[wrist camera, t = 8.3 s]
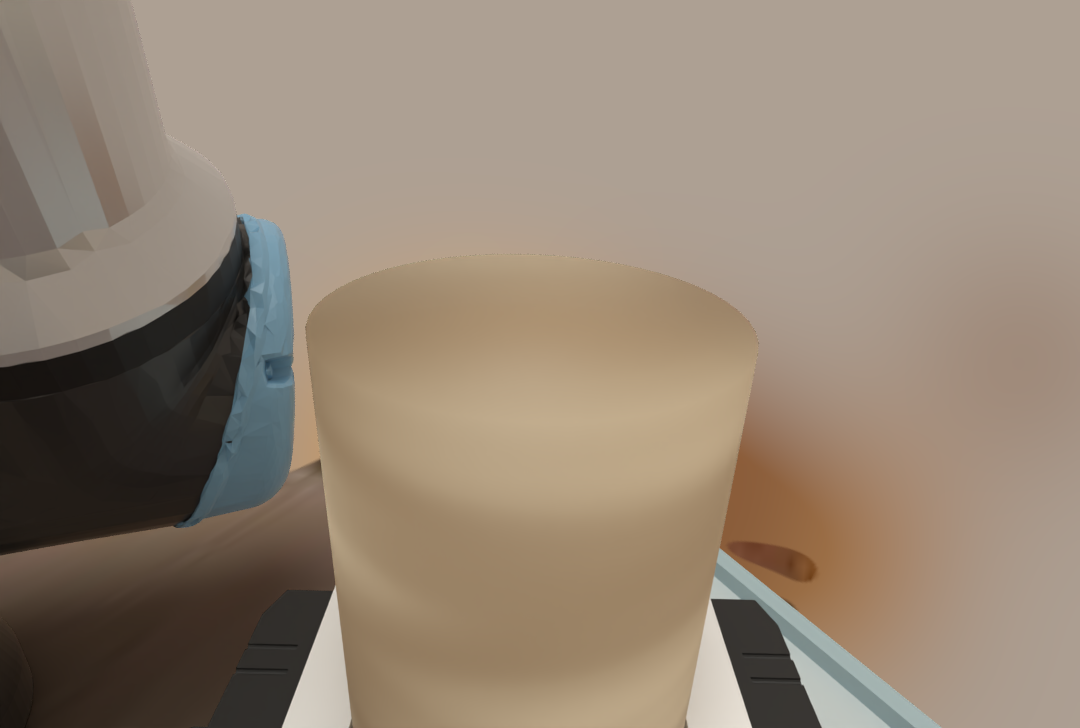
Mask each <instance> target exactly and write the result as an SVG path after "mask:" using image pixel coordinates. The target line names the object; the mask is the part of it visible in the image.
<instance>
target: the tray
mask: <svg viewBox="0 0 1080 728" xmlns="http://www.w3.org/2000/svg"><path fill="white" fill-rule="evenodd" d="M710 599H742V600H755V601H756V602H757V603H758V604H759V605H760V606H761V607H762V608H763V609H764V610H765V611H766V613H767V614H768V615H769V616H770V617H771V618H772V619H773V620H774V621H775V622H776V623H777V624H778V626H779V628H780V631H781V633H782V636H783V638H784V640H785V643H786V645H787V647H788V650H789V652H790V658H791V660H793V661H794V664H795V666H796V668H797V671H798V673H799V675H800V678H801V684H802V685H804V687H805V689H806V692H807V694H808V696H809V699H810V701H811V703H812V706H813V708H814V710H815V713H816V715H817V718H818V720H819V722H820V725H821V727H822V728H941V727H940V726H939V725H938V724H936V723H935V722H934V721H933V720H931V719H930V718H929V717H928V716H926V715H925V714H924V713H923V712H922V711H920V710H919V709H918V708H916V707H915V706H914V705H913V704H912V703H910V702H909V701H908V700H907V699H905V698H904V697H903V696H902V695H900V694H899V693H898V692H896V691H895V690H894V689H893V688H892V687H891V686H889V685H888V684H887V683H886V682H884V681H883V680H882V679H880V678H879V677H878V676H877V675H876V674H874V673H873V672H872V671H871V670H870V669H868V668H867V667H866V666H865V665H863V664H862V663H861V662H860V661H858V660H857V659H856V658H855V657H853V656H852V655H851V654H850V653H848V652H847V651H846V650H845V649H844V648H842V647H841V646H840V645H839V644H837V643H836V642H835V641H834V640H832V639H831V638H830V637H829V636H827V635H826V634H825V633H824V632H822V631H821V630H820V629H819V628H818V627H816V626H815V625H814V624H812V623H811V622H810V621H809V620H808V619H806V618H805V617H804V616H803V615H801V614H800V613H799V612H798V611H796V610H795V609H794V608H793V607H792V606H790V605H789V604H788V603H787V602H785V601H784V600H783V599H782V598H780V597H779V596H778V595H777V594H775V593H774V592H773V591H772V590H770V589H769V588H768V587H767V586H766V585H764V584H763V583H762V582H761V581H759V580H758V579H757V578H755V577H754V576H753V575H752V574H751V573H749V572H748V571H747V570H746V569H744V568H743V567H742V566H741V565H740V564H738V563H737V562H736V561H735V560H733V559H732V558H731V557H730V556H728V555H727V554H726V553H725V552H723V551H722V550H721V549H720V548H719V553H718V558H717V563H716V568H715V573H714V578H713V583H712V588H711V593H710Z"/></svg>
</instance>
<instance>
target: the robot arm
mask: <svg viewBox="0 0 1080 728" xmlns="http://www.w3.org/2000/svg"><path fill="white" fill-rule="evenodd" d="M293 337H294V329H293V309H292V293H291V282H290V271H289V263H288V256H287V250H286V244H285V240H284V237H283V234H282V232H281V230H280V228H279V227H278V226H277V225H276V224H275V223H273V222H270V221H268V220H264V219H256V218H254V217H252V216H250V215H247V214H241V215H237V214H236V209H235V204H234V200H233V196H232V194H231V192H230V190H229V187H228V185H227V183H226V181H225V179H224V178H223V176H222V174H221V173H220V172H219V170H218V169H217V168H215V166H214V165H213V164H212V163H211V162H210V161H209V160H208V159H206V158H205V157H204V156H202V155H201V154H200V153H199V152H197V151H196V150H194V149H193V148H191V147H189V146H188V145H186V144H184V143H182V142H181V141H179V140H177V139H175V138H173V137H171V136H170V135H167V134H166V133H165V131H164V127H163V123H162V119H161V115H160V111H159V108H158V104H157V100H156V96H155V92H154V88H153V84H152V80H151V77H150V73H149V69H148V64H147V61H146V57H145V53H144V49H143V45H142V41H141V37H140V33H139V29H138V25H137V21H136V17H135V13H134V9H133V6H132V2H131V0H0V555H5V554H11V553H16V552H22V551H27V550H33V549H39V548H44V547H50V546H55V545H61V544H67V543H72V542H78V541H84V540H90V539H96V538H102V537H108V536H114V535H120V534H126V533H132V532H139V531H145V530H151V529H157V528H163V527H169V526H174V527H176V528H184V527H190V526H194V525H195V524H197V523H199V522H200V521H201V520H202V519H204V518H209V517H213V516H217V515H222V514H226V513H231V512H235V511H239V510H244V509H248V508H252V507H256V506H259V505H261V504H263V503H265V502H266V501H268V500H269V499H271V498H272V497H273V496H274V495H275V494H276V493H277V492H278V491H279V490H280V489H281V487H282V486H283V484H284V482H285V481H286V479H287V476H288V473H289V469H290V465H291V460H292V452H293V440H294V418H295V417H294V416H295V388H294V387H295V383H294V375H293V370H292V368H291V366H292V363H293V339H294V338H293ZM32 699H33V678H32V674H31V670H30V667H29V665H28V663H27V660H26V658H25V655H24V653H23V650H22V648H21V645H20V643H19V641H18V638H17V636H16V635H15V633H14V632H13V630H12V629H11V627H10V626H9V625H8V624H7V623H6V621H5V620H4V619H3V618H1V617H0V728H24V727H25V725H26V722H27V719H28V716H29V713H30V709H31V705H32ZM191 728H353V726H352V718H351V709H350V701H349V693H348V684H347V676H346V668H345V659H344V651H343V642H342V634H341V626H340V617H339V609H338V601H337V592H336V585H335V588H334V591H308V590H287V591H286V592H285V593H284V594H283V595H282V596H281V597H280V598H279V599H278V600H277V601H276V602H275V603H274V604H273V605H272V606H270V607H269V608H268V609H267V610H266V611H265V612H264V613H263V614H262V616H261V618H260V620H259V622H258V624H257V626H256V628H255V631H254V633H253V635H252V637H251V639H250V641H249V643H248V648H247V649H245V651H244V653H243V655H242V657H241V659H240V661H239V663H238V665H237V667H236V673H235V674H233V676H232V678H231V680H230V682H229V684H228V686H227V688H226V690H225V692H224V694H223V696H222V698H221V700H220V702H219V704H218V706H217V708H216V710H215V712H214V714H213V717H212V719H211V721H210V723H209V725H208V727H191ZM684 728H822V727H821V725H820V722H819V720H818V718H817V715H816V713H815V710H814V708H813V706H812V703H811V701H810V699H809V696H808V694H807V692H806V689H805V687H804V685H802V684H801V678H800V675H799V673H798V671H797V668H796V666H795V664H794V661H793V660H791V658H790V652H789V650H788V647H787V645H786V643H785V640H784V638H783V636H782V633H781V631H780V628H779V626H778V624H777V623H776V622H775V621H774V620H773V619H772V618H771V617H770V616H769V615H768V614H767V613H766V611H765V610H764V609H763V608H762V607H761V606H760V605H759V604H758V603H757V602H756V601H755V600H742V599H709V604H708V609H707V614H706V619H705V624H704V629H703V634H702V639H701V644H700V649H699V654H698V659H697V664H696V669H695V674H694V680H693V685H692V690H691V695H690V700H689V705H688V710H687V715H686V720H685V725H684Z"/></svg>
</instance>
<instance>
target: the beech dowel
mask: <svg viewBox="0 0 1080 728" xmlns="http://www.w3.org/2000/svg"><path fill="white" fill-rule="evenodd" d="M305 328H306V341H307V350H308V358H309V366H310V375H311V382H312V392H313V400H314V408H315V416H316V425H317V433H318V442H319V449H320V458H321V467H322V475H323V484H324V492H325V500H326V509H327V517H328V525H329V534H330V542H331V550H332V559H333V567H334V576H335V584H336V592H337V601H338V609H339V617H340V626H341V634H342V642H343V651H344V659H345V668H346V676H347V684H348V693H349V701H350V709H351V718H352V726H353V728H684V725H685V720H686V715H687V710H688V705H689V700H690V695H691V690H692V685H693V680H694V674H695V669H696V664H697V659H698V654H699V649H700V644H701V639H702V634H703V629H704V624H705V619H706V614H707V609H708V604H709V599H710V593H711V588H712V583H713V578H714V573H715V568H716V563H717V558H718V553H719V548H720V543H721V538H722V533H723V528H724V522H725V518H726V512H727V507H728V502H729V497H730V492H731V487H732V482H733V477H734V472H735V467H736V462H737V457H738V451H739V446H740V442H741V437H742V432H743V426H744V421H745V416H746V411H747V406H748V401H749V396H750V391H751V386H752V381H753V376H754V371H755V366H756V361H757V356H758V344H759V342H758V339H757V335H756V332H755V330H754V328H753V327H752V326H751V324H750V322H749V321H748V320H747V319H746V318H745V317H744V316H743V315H742V314H741V313H740V312H739V311H738V310H737V309H736V308H734V307H733V306H731V305H730V304H729V303H727V302H726V301H724V300H722V299H721V298H719V297H717V296H716V295H714V294H712V293H710V292H708V291H706V290H703V289H701V288H699V287H697V286H695V285H692V284H690V283H687V282H684V281H682V280H679V279H676V278H673V277H670V276H667V275H663V274H660V273H657V272H653V271H649V270H645V269H641V268H637V267H632V266H627V265H622V264H617V263H611V262H606V261H600V260H592V259H584V258H576V257H565V256H552V255H535V254H534V255H533V254H489V255H472V256H471V255H470V256H460V257H448V258H441V259H433V260H426V261H421V262H417V263H410V264H405V265H401V266H397V267H393V268H389V269H385V270H382V271H379V272H375V273H372V274H369V275H367V276H364V277H361V278H359V279H356V280H354V281H352V282H350V283H348V284H346V285H344V286H342V287H340V288H338V289H336V290H335V291H333V292H332V293H330V294H329V295H328V296H326V297H325V298H324V299H323V300H322V301H320V302H319V303H318V304H317V305H316V306H315V308H314V309H313V311H312V312H311V314H310V315H309V317H308V320H307V324H306V327H305Z"/></svg>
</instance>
